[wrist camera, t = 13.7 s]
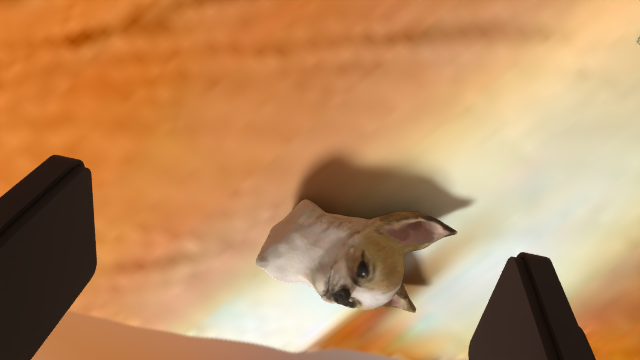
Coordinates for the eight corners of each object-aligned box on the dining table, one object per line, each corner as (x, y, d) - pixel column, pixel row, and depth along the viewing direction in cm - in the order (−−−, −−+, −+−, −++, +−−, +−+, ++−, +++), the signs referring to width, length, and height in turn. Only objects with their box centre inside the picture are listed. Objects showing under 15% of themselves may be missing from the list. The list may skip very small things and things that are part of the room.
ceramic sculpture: (267, 221, 35) (474, 274, 37) (282, 158, 43) (454, 205, 44) (238, 326, 41) (419, 369, 42) (256, 255, 48) (409, 293, 50)
